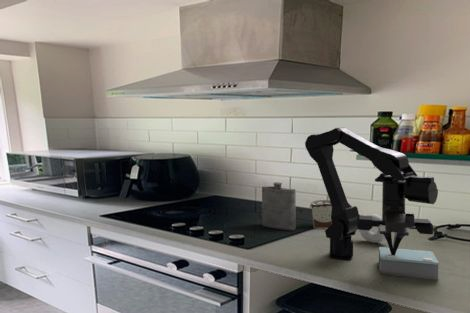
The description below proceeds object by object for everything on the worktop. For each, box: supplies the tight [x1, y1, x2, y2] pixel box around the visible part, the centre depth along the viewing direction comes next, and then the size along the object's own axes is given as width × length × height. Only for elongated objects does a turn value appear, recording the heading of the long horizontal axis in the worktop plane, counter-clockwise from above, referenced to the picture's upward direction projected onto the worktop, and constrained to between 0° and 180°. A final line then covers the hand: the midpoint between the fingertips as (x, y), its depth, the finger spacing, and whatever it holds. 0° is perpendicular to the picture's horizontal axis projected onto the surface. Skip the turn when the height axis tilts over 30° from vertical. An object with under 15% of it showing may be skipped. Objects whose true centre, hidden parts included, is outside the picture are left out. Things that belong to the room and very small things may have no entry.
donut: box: [358, 213, 386, 244], centre depth 126 cm, size 10×4×10 cm, turn 54°
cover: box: [378, 246, 440, 266], centre depth 102 cm, size 14×9×1 cm
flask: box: [261, 181, 297, 231], centre depth 145 cm, size 4×14×18 cm, turn 57°
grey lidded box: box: [378, 251, 439, 281], centre depth 103 cm, size 14×9×4 cm, turn 72°
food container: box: [309, 199, 332, 229], centre depth 147 cm, size 12×6×10 cm, turn 92°
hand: (393, 255), depth 101 cm, fingers closed, pressing on cover
